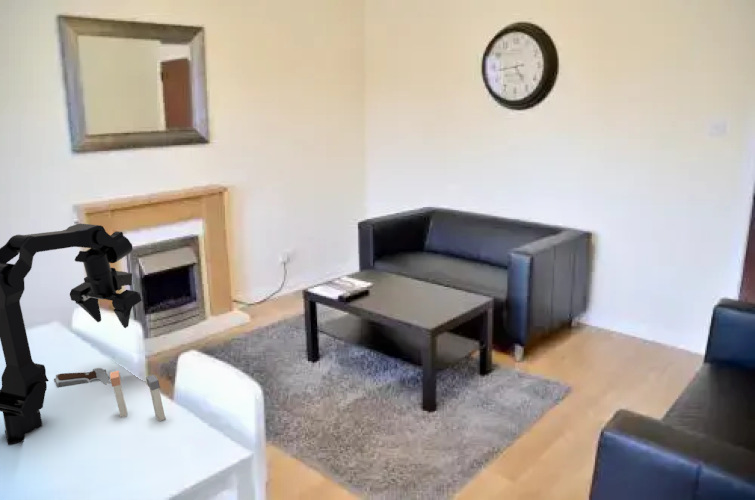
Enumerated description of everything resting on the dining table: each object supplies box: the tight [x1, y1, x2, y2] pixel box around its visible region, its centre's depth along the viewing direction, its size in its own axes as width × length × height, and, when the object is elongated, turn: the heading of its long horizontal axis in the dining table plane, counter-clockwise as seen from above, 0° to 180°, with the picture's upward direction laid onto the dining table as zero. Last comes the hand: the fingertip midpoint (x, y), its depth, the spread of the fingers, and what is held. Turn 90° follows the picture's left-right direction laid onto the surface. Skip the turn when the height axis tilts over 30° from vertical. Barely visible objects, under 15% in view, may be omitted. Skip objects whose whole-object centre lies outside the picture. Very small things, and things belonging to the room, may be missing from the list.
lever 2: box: [145, 373, 166, 422], centre depth 137 cm, size 2×3×10 cm, turn 36°
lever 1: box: [109, 370, 128, 418], centre depth 139 cm, size 2×3×10 cm, turn 24°
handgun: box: [53, 367, 112, 389], centre depth 154 cm, size 2×23×12 cm
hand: (112, 324), depth 158 cm, fingers open, 9 cm apart
